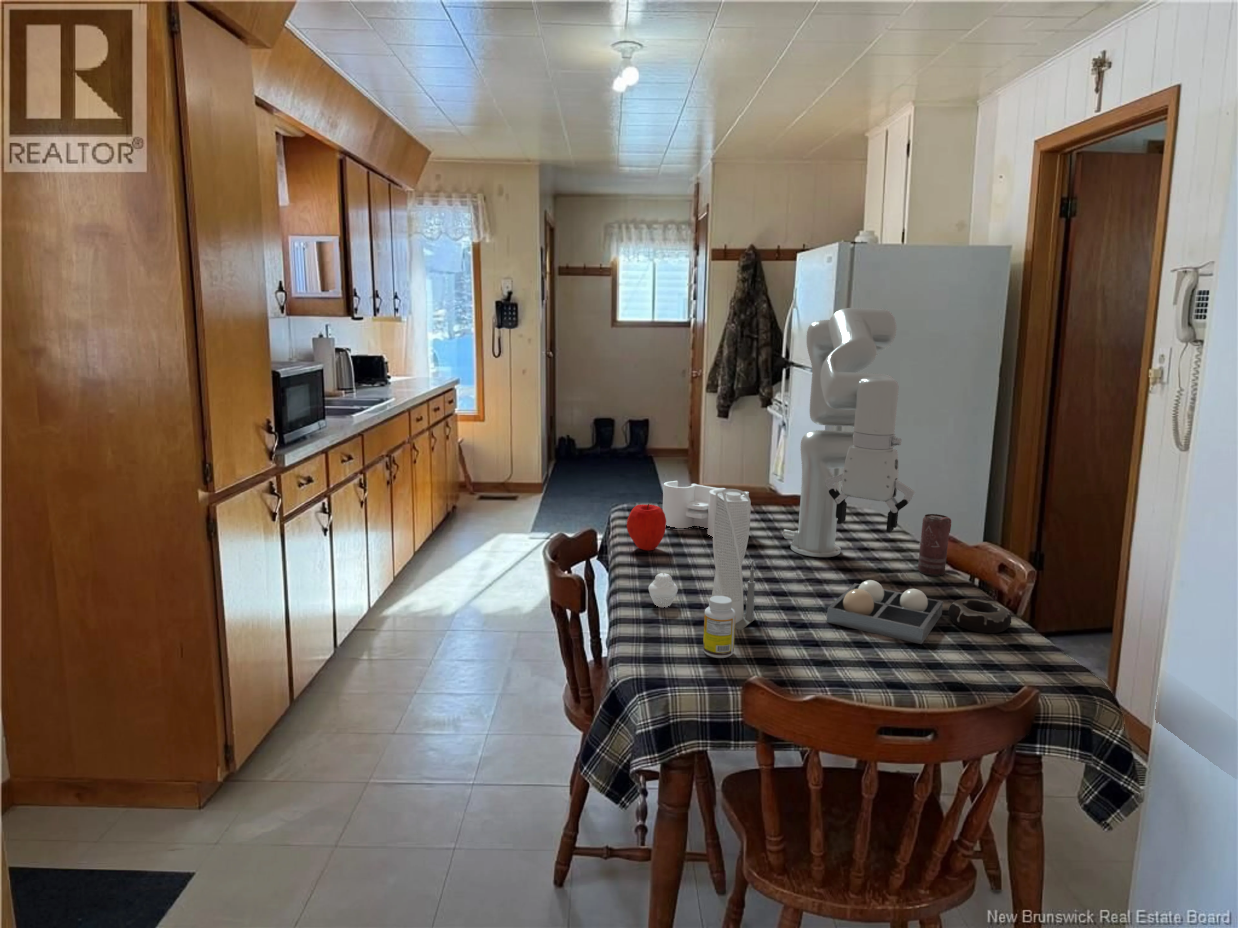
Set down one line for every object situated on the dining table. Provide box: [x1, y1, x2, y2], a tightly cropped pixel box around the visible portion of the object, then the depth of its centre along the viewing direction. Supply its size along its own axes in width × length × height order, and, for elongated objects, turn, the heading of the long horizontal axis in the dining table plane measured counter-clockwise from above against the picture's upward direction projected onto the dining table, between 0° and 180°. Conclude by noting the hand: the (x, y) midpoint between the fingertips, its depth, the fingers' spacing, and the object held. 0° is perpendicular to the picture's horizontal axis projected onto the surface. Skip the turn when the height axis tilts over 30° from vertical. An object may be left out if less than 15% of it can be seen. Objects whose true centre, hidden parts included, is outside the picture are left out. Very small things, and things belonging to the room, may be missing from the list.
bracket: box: [662, 480, 750, 538], centre depth 226 cm, size 25×10×12 cm, turn 56°
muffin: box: [648, 572, 679, 608], centre depth 169 cm, size 6×6×7 cm
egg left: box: [858, 579, 884, 602], centre depth 171 cm, size 5×5×5 cm
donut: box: [947, 598, 1012, 634], centre depth 163 cm, size 12×12×4 cm
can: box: [917, 513, 952, 577], centre depth 194 cm, size 6×6×14 cm
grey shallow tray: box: [826, 582, 944, 645], centre depth 165 cm, size 18×18×3 cm
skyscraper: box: [711, 488, 756, 631], centre depth 159 cm, size 8×8×28 cm
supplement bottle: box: [702, 596, 736, 659], centre depth 146 cm, size 6×6×10 cm
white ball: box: [900, 588, 928, 612], centre depth 166 cm, size 5×5×5 cm
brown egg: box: [843, 589, 874, 616], centre depth 163 cm, size 6×6×6 cm
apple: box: [626, 503, 667, 551], centre depth 207 cm, size 10×10×12 cm
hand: (865, 526), depth 160 cm, fingers open, 9 cm apart
